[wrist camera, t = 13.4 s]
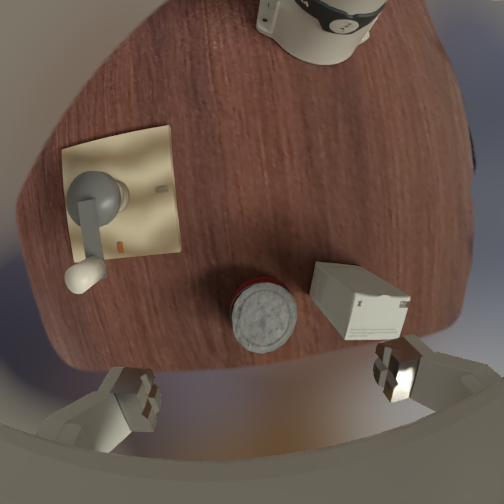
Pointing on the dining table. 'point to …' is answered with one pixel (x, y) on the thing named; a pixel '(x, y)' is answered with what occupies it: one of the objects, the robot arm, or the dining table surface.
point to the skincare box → (358, 302)
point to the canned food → (262, 314)
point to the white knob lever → (91, 224)
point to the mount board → (130, 192)
